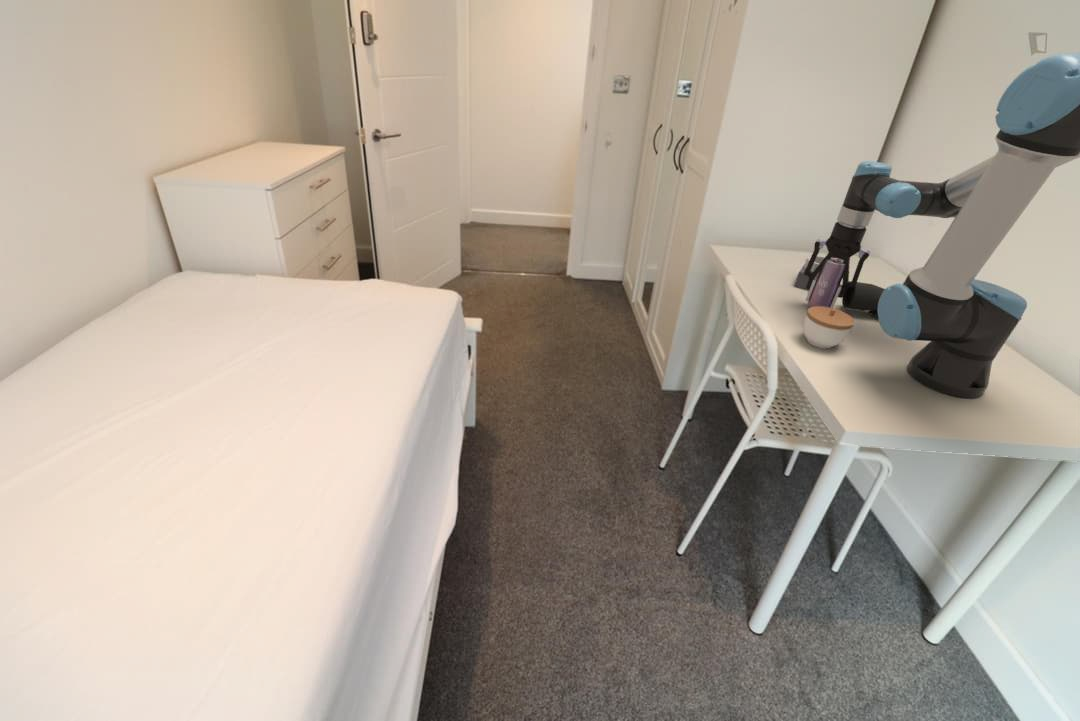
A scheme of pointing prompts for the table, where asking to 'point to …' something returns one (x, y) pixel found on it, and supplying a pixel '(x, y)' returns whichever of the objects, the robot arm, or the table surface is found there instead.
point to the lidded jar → (826, 326)
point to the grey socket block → (803, 279)
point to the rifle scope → (863, 298)
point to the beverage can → (827, 283)
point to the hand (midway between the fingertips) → (819, 303)
